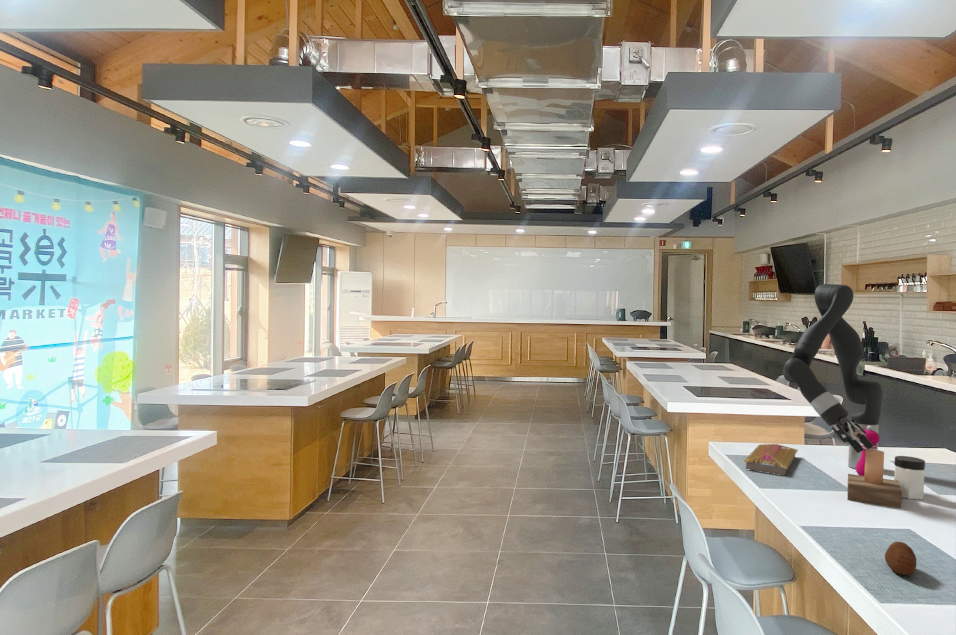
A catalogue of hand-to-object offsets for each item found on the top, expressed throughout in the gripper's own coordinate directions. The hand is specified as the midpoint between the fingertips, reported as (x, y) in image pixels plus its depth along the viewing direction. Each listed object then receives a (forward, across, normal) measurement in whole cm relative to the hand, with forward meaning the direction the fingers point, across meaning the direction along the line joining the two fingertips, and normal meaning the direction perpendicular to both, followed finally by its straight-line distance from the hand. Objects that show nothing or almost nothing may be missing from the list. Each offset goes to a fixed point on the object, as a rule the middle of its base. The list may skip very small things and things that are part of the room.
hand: (866, 449), depth 200 cm
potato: (+29, -58, -8) cm, 65 cm away
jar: (+17, +12, +5) cm, 22 cm away
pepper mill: (+8, +17, +14) cm, 24 cm away
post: (+9, 0, +5) cm, 10 cm away
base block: (+12, 0, +9) cm, 15 cm away
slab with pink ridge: (-15, +16, +38) cm, 43 cm away
